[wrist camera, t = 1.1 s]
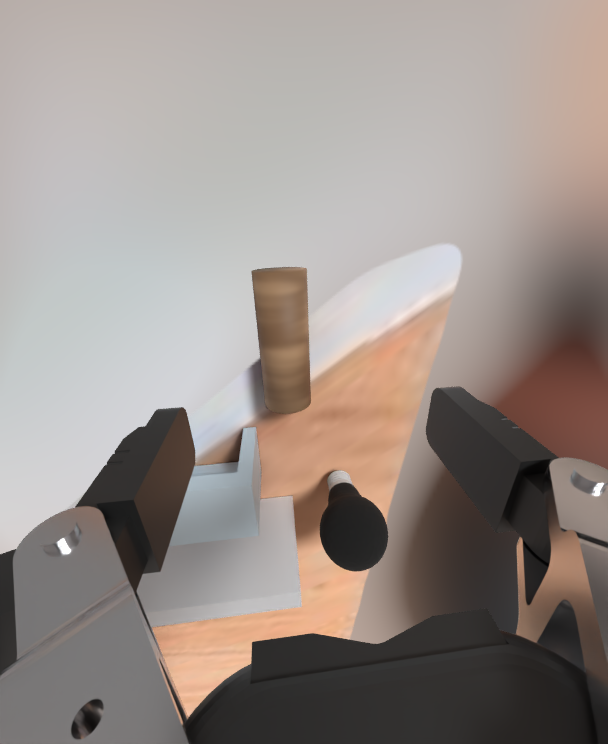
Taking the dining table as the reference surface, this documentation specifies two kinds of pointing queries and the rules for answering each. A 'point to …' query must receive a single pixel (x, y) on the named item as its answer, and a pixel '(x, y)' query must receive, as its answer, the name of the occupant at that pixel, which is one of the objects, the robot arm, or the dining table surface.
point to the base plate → (228, 573)
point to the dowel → (283, 337)
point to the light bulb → (352, 526)
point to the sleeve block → (222, 498)
